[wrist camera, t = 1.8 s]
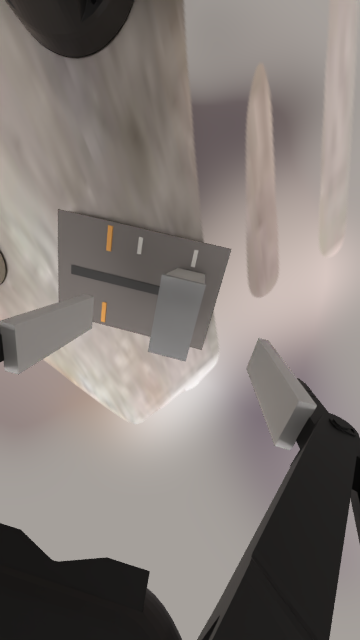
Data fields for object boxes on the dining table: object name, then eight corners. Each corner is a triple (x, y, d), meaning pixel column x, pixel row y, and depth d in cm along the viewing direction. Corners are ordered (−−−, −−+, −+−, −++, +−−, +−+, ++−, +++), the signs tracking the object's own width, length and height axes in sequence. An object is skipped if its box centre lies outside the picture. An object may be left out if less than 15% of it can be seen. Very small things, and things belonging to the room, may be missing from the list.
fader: (166, 319, 26) (147, 351, 18) (177, 266, 24) (161, 274, 15) (192, 326, 26) (185, 361, 18) (205, 273, 24) (205, 285, 15)
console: (72, 307, 31) (57, 313, 28) (73, 213, 27) (56, 208, 24) (202, 341, 30) (201, 350, 27) (228, 249, 26) (231, 249, 23)
